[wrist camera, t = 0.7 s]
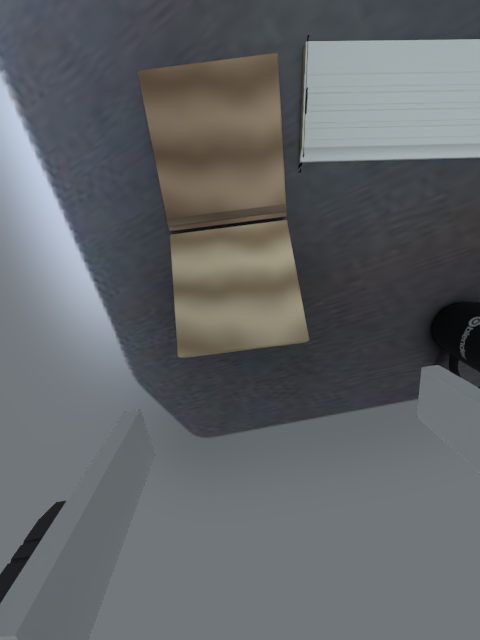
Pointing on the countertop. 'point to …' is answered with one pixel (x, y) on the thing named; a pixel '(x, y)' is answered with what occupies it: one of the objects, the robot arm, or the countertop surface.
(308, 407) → the countertop surface
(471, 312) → the mug
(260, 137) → the walnut board
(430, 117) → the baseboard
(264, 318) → the oak plank
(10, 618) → the robot arm
